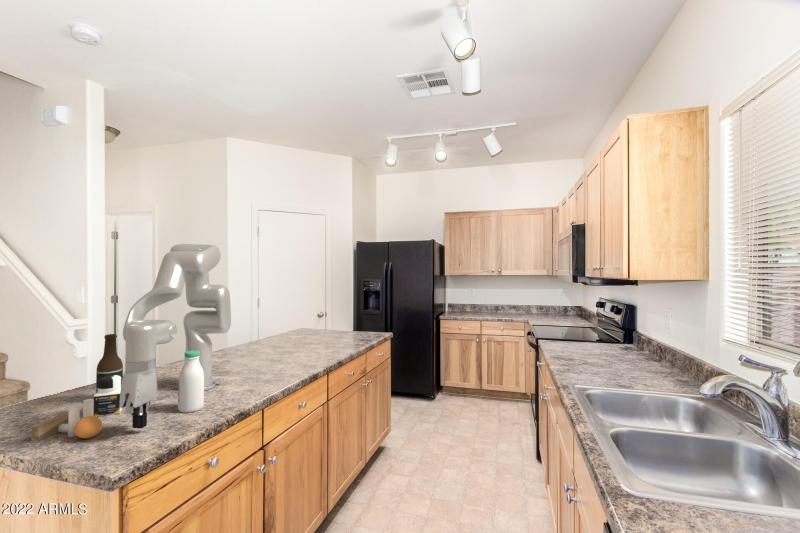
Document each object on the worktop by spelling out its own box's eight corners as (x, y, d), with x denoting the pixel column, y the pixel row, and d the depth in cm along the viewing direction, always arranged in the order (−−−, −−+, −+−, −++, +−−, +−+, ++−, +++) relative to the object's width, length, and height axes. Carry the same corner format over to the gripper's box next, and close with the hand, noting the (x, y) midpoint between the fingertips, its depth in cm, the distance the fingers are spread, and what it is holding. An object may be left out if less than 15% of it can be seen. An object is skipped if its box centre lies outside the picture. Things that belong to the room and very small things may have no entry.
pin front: (94, 423, 111) (66, 423, 111) (89, 423, 109) (59, 423, 109) (91, 432, 110) (63, 432, 110) (85, 432, 108) (56, 432, 108)
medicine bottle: (92, 417, 120) (93, 380, 120) (98, 410, 126) (99, 375, 126) (119, 414, 123) (120, 378, 123) (124, 406, 129) (124, 372, 130)
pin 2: (93, 425, 114) (94, 398, 114) (92, 428, 112) (92, 400, 112) (83, 427, 112) (84, 399, 112) (81, 430, 110) (82, 401, 110)
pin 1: (79, 432, 109) (80, 404, 109) (77, 436, 107) (78, 406, 107) (69, 434, 107) (69, 405, 107) (67, 438, 105) (67, 408, 105)
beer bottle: (107, 403, 132) (109, 336, 132) (90, 402, 133) (91, 335, 134) (127, 396, 140) (129, 333, 140) (110, 395, 141) (112, 332, 141)
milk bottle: (208, 406, 131) (209, 350, 131) (189, 414, 123) (190, 354, 123) (192, 403, 133) (193, 348, 133) (172, 411, 126) (173, 352, 126)
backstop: (75, 423, 115) (76, 410, 115) (38, 440, 103) (39, 426, 103) (69, 423, 115) (69, 410, 115) (31, 440, 103) (31, 426, 103)
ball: (84, 420, 109) (107, 415, 110) (81, 442, 106) (105, 436, 108) (71, 417, 104) (96, 412, 105) (68, 440, 101) (93, 434, 103)
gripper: (145, 359, 117) (144, 417, 117) (108, 372, 102) (107, 438, 102) (168, 359, 117) (167, 417, 117) (135, 372, 102) (134, 438, 102)
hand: (139, 427), depth 110 cm, fingers closed
